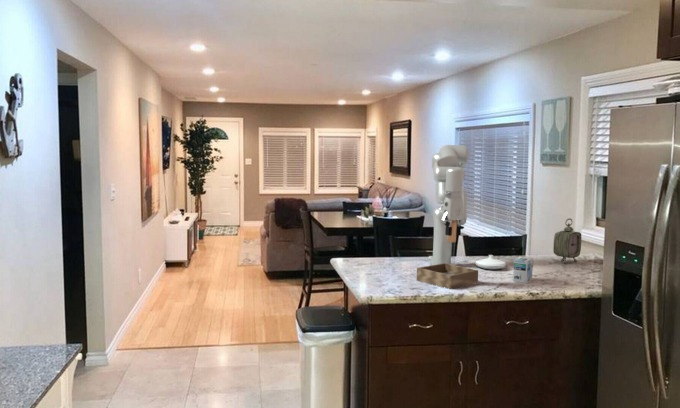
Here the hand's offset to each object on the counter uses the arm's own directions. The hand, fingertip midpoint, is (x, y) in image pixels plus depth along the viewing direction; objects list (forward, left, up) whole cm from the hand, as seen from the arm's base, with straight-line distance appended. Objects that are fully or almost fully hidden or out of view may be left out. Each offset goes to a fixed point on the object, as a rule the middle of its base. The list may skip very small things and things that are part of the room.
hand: (451, 234), depth 262 cm
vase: (-9, +44, -23) cm, 51 cm away
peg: (0, 0, -3) cm, 3 cm away
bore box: (-2, 0, -23) cm, 23 cm away
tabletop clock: (+6, +94, -23) cm, 97 cm away
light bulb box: (+17, +33, -23) cm, 44 cm away
